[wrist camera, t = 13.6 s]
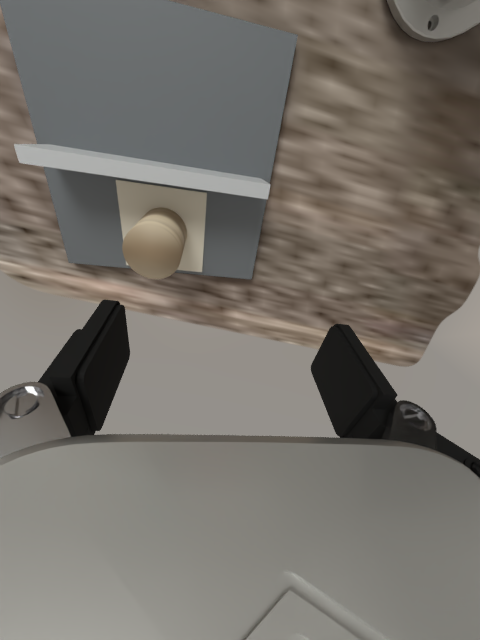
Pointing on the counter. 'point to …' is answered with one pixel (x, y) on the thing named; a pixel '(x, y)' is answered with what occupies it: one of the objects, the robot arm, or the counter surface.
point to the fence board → (152, 122)
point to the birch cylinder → (156, 244)
